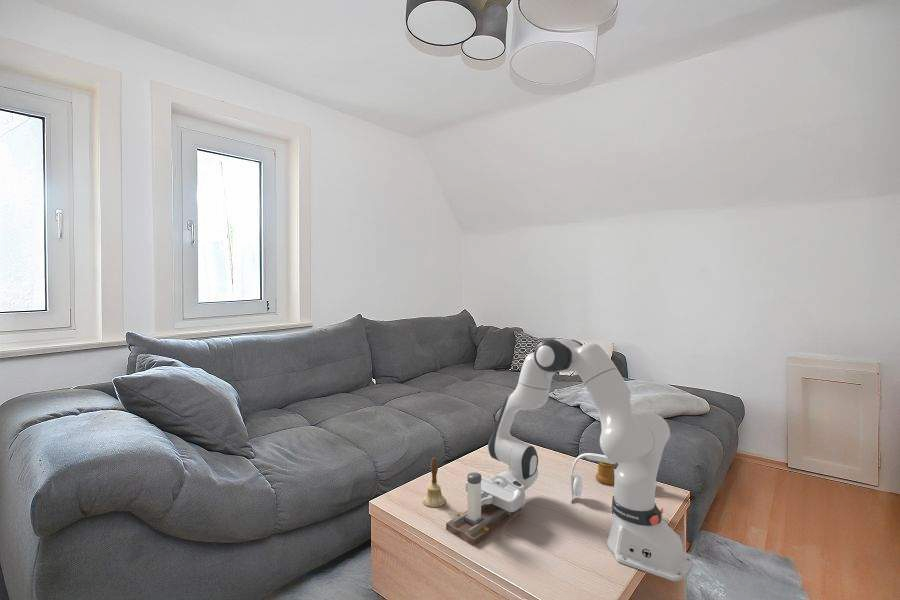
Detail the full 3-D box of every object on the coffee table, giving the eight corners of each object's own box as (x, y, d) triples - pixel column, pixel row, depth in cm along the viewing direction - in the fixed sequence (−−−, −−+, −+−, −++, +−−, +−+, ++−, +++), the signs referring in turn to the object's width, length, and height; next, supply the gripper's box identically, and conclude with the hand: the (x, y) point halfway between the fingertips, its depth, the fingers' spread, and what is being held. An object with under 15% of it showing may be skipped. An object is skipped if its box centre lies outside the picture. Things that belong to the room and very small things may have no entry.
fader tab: (484, 521, 138) (484, 475, 137) (475, 526, 135) (475, 480, 134) (473, 515, 142) (473, 470, 141) (464, 520, 139) (464, 475, 138)
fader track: (521, 513, 147) (521, 503, 147) (474, 545, 130) (474, 534, 130) (493, 500, 155) (493, 491, 155) (446, 529, 138) (446, 518, 138)
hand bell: (450, 500, 156) (450, 456, 155) (435, 510, 149) (434, 464, 148) (433, 492, 161) (432, 450, 160) (417, 502, 154) (417, 458, 153)
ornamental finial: (599, 474, 175) (618, 479, 170) (593, 481, 169) (612, 487, 165) (599, 455, 174) (619, 460, 170) (593, 461, 168) (613, 467, 164)
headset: (630, 506, 151) (632, 456, 150) (629, 516, 145) (630, 464, 144) (572, 493, 160) (572, 446, 159) (568, 502, 154) (569, 453, 153)
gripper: (480, 468, 156) (454, 481, 146) (528, 487, 142) (502, 504, 132) (480, 485, 157) (454, 499, 147) (528, 506, 142) (502, 524, 132)
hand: (477, 502), depth 139 cm, fingers closed, pressing on fader tab
